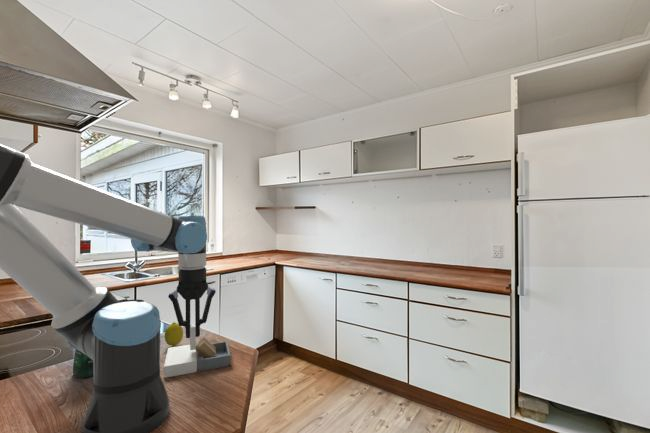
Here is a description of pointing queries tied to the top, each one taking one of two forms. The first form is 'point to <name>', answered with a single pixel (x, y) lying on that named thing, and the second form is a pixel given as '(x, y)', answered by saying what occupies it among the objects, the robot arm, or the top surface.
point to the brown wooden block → (205, 348)
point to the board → (180, 361)
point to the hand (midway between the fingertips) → (192, 348)
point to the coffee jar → (82, 365)
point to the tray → (215, 358)
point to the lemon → (173, 334)
